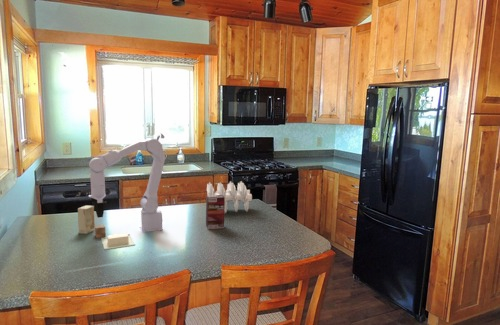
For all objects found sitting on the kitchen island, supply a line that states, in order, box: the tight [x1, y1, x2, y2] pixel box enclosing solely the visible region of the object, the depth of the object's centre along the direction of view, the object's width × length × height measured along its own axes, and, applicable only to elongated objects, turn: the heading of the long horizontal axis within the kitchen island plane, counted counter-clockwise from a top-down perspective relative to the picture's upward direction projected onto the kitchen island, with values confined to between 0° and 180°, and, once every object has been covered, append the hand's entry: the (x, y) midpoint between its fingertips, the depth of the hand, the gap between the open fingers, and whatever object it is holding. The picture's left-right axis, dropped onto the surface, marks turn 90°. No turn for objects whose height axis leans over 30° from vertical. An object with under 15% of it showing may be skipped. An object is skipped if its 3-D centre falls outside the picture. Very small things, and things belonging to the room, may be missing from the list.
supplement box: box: [205, 195, 225, 230], centre depth 175 cm, size 9×5×16 cm, turn 107°
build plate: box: [100, 233, 136, 251], centre depth 153 cm, size 12×14×1 cm
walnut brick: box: [94, 224, 107, 239], centre depth 160 cm, size 4×4×5 cm
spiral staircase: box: [206, 180, 253, 214], centre depth 202 cm, size 18×18×25 cm
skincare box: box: [77, 204, 96, 235], centre depth 165 cm, size 6×4×12 cm
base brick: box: [106, 232, 129, 246], centre depth 152 cm, size 8×4×3 cm, turn 118°
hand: (99, 214), depth 158 cm, fingers open, 7 cm apart
